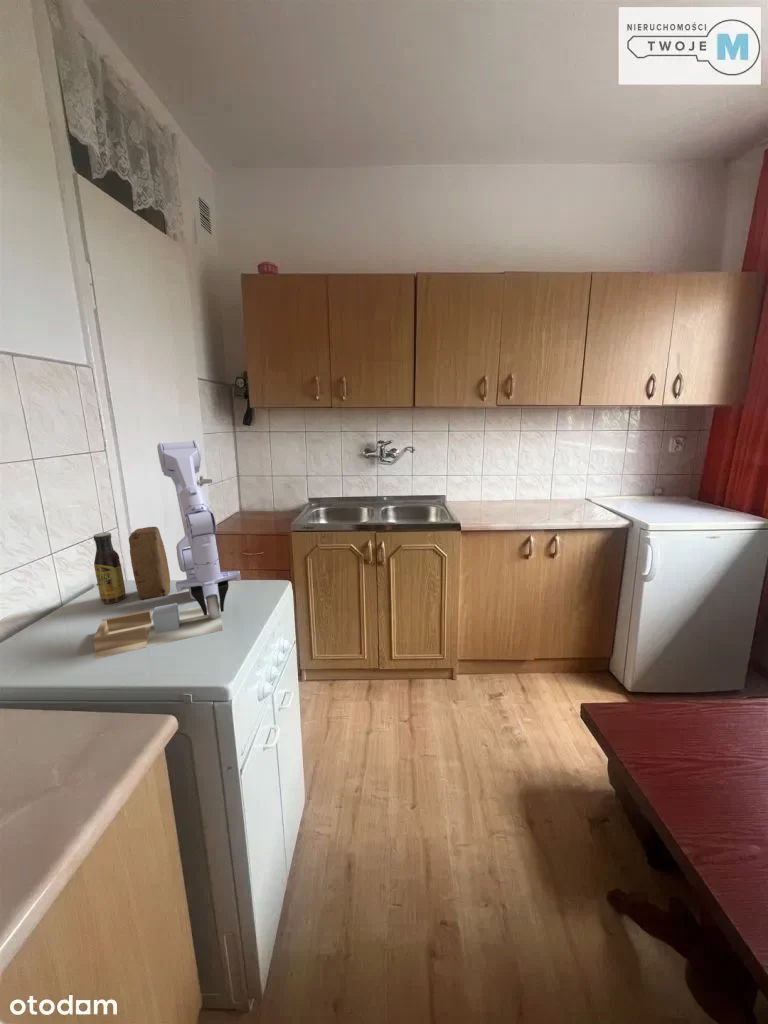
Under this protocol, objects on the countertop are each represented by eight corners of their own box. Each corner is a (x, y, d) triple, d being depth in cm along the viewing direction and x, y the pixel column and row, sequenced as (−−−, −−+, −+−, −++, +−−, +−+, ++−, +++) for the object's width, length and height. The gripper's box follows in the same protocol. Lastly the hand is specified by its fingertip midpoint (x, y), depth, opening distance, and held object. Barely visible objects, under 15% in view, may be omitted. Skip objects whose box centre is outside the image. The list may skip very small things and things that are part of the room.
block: (166, 600, 119) (153, 533, 114) (137, 604, 118) (123, 536, 113) (174, 585, 129) (163, 522, 124) (148, 589, 128) (135, 525, 123)
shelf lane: (108, 630, 104) (105, 613, 103) (220, 607, 114) (218, 592, 112) (93, 665, 90) (89, 646, 89) (223, 635, 99) (220, 618, 98)
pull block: (157, 624, 103) (153, 603, 102) (220, 611, 108) (216, 591, 107) (155, 633, 99) (151, 612, 97) (220, 619, 104) (217, 599, 102)
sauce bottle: (96, 603, 119) (80, 536, 114) (115, 594, 125) (101, 530, 120) (114, 605, 117) (98, 538, 113) (132, 596, 123) (119, 531, 118)
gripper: (171, 571, 95) (181, 625, 99) (238, 560, 101) (245, 612, 104) (173, 561, 102) (182, 612, 105) (236, 551, 107) (243, 600, 110)
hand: (213, 611), depth 105 cm, fingers open, 3 cm apart
